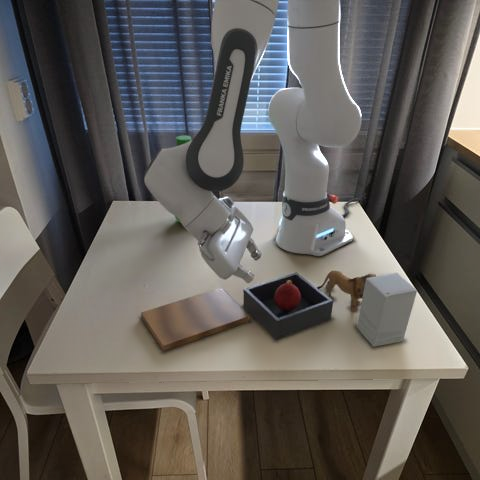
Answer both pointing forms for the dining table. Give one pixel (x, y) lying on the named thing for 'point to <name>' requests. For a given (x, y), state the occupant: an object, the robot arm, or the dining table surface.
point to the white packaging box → (385, 309)
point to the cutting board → (193, 318)
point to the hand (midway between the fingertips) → (255, 268)
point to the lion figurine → (346, 285)
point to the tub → (285, 323)
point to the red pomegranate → (287, 297)
